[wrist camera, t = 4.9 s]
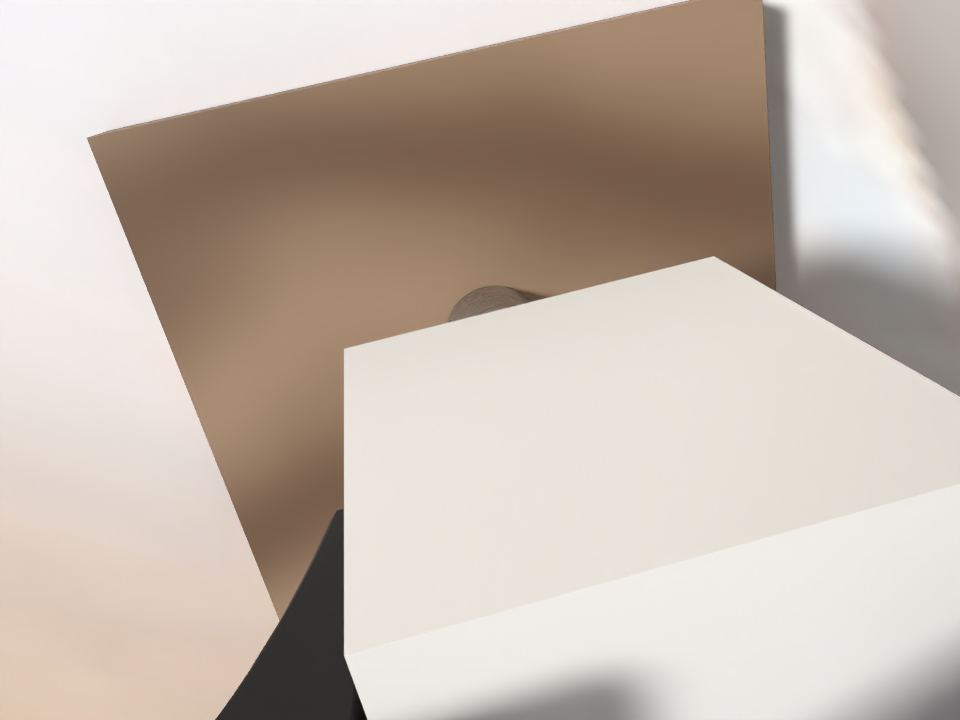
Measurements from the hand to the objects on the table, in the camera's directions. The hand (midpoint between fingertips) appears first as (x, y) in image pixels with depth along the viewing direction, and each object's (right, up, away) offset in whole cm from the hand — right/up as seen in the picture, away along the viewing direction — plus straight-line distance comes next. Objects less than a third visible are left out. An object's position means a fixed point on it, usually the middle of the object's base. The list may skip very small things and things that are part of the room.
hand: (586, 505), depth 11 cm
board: (-1, 0, +10) cm, 10 cm away
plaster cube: (0, 0, +1) cm, 1 cm away
